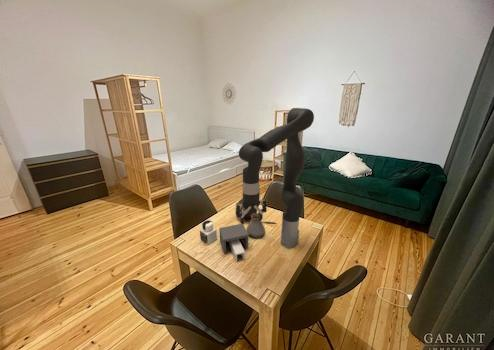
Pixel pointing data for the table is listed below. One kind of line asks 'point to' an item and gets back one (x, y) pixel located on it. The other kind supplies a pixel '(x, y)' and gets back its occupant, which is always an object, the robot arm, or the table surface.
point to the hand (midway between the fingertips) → (251, 221)
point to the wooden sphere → (248, 215)
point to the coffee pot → (256, 226)
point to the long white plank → (236, 248)
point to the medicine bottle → (208, 232)
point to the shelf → (233, 235)
